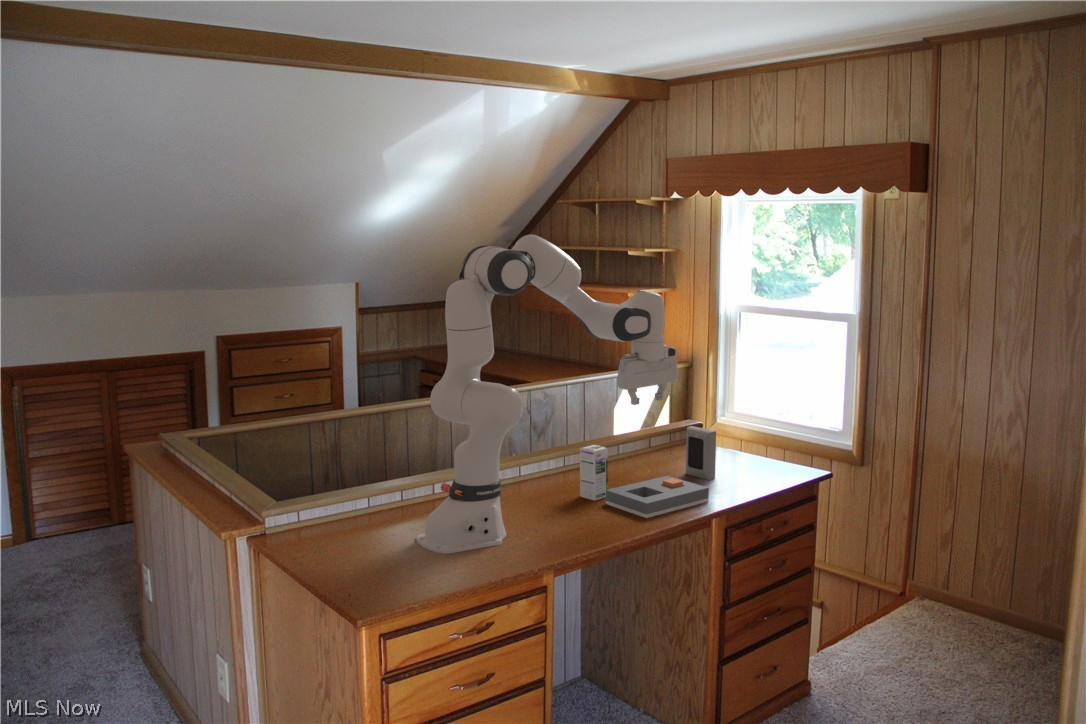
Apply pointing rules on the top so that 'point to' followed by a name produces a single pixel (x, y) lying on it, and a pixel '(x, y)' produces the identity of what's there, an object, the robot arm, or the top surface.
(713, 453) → the grey upright rectangular block
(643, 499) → the grey two-pocket tray
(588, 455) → the syrup box
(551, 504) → the top surface
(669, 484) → the orange block
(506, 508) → the top surface
